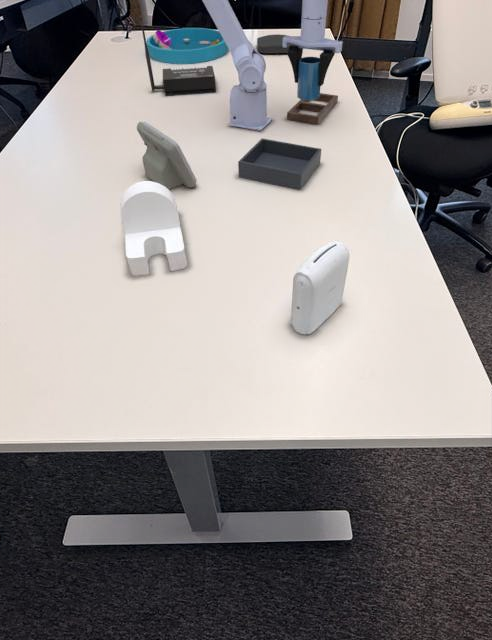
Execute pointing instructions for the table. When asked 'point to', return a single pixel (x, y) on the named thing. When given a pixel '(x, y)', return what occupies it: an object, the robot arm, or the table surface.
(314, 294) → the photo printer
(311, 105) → the rack
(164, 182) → the digital clock
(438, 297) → the table surface
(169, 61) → the teal round tray
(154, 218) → the bracket
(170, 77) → the wireless controller
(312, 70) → the cup
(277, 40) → the media streaming box
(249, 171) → the dark grey tray
